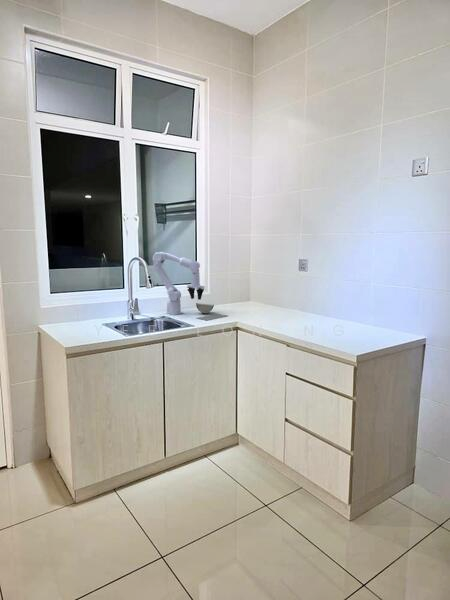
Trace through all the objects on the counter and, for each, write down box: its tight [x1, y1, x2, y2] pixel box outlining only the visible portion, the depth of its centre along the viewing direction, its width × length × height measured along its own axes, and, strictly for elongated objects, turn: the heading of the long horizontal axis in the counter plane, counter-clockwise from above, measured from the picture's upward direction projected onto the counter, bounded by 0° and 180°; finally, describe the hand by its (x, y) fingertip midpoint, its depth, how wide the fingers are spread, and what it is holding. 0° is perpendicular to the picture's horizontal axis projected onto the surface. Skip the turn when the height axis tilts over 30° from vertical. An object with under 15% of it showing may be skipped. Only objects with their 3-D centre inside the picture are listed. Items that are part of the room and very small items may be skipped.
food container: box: [195, 302, 215, 314], centre depth 269 cm, size 12×6×10 cm
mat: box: [195, 313, 229, 321], centre depth 256 cm, size 10×20×1 cm, turn 136°
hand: (196, 299), depth 266 cm, fingers open, 6 cm apart
